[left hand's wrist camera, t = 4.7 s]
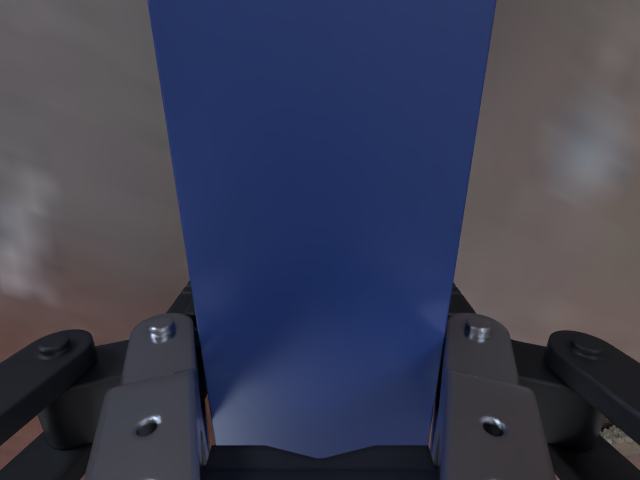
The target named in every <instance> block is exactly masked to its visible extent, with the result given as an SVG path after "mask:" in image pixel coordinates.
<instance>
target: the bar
mask: <svg viewBox="0 0 640 480" xmlns="http://www.w3.org/2000/svg"><path fill="white" fill-rule="evenodd" d="M148 6H149V13H150V19H151V26H152V32H153V39H154V46H155V52H156V59H157V65H158V72H159V78H160V85H161V91H162V98H163V105H164V111H165V118H166V124H167V131H168V137H169V144H170V150H171V157H172V164H173V170H174V177H175V183H176V190H177V196H178V203H179V209H180V216H181V223H182V229H183V236H184V242H185V249H186V255H187V262H188V268H189V275H190V281H191V288H192V295H193V301H194V308H195V314H196V321H197V327H198V334H199V340H200V347H201V354H202V360H203V367H204V373H205V380H206V386H207V393H208V399H209V406H210V413H211V419H212V426H213V432H214V439H215V445H266V446H270V447H274V448H278V449H282V450H286V451H290V452H294V453H298V454H302V455H306V456H310V457H314V458H326V457H330V456H334V455H338V454H342V453H346V452H350V451H354V450H358V449H362V448H366V447H370V446H374V445H428V442H429V436H430V429H431V423H432V416H433V410H434V403H435V397H436V390H437V384H438V377H439V371H440V364H441V358H442V351H443V345H444V338H445V332H446V325H447V319H448V312H449V306H450V299H451V293H452V286H453V280H454V273H455V266H456V260H457V253H458V247H459V240H460V234H461V227H462V221H463V214H464V208H465V201H466V195H467V188H468V182H469V175H470V169H471V162H472V156H473V149H474V143H475V136H476V130H477V123H478V117H479V110H480V104H481V97H482V91H483V84H484V78H485V71H486V65H487V58H488V52H489V45H490V39H491V32H492V26H493V19H494V13H495V6H496V0H148Z"/></svg>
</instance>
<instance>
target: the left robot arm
mask: <svg viewBox="0 0 640 480" xmlns="http://www.w3.org/2000/svg"><path fill="white" fill-rule="evenodd" d="M206 395H207V386H206V380H205V373H204V367H203V360H202V354H201V347H200V340H199V334H198V327H197V321H196V314H195V308H194V301H193V295H192V288H191V281H189V282H188V284H187V287H185V288H184V289H183V291H182V292H181V294H180V295H179V296H178V298H177V299H176V300H175V302H174V303H173V305H172V306H171V307H170V309H169V310H168V311H167V313H165V314H160V315H156V316H153V317H151V318H148V319H146V320H144V321H143V322H141V323H139V324H138V325H137V326H136V327H135V328H134V329H133V330H132V332H131V334H130V339H129V340H126V341H121V342H116V343H111V344H106V345H100V346H95V345H94V341H93V337H92V335H91V334H90V333H89V332H87V331H84V330H65V331H60V332H56V333H53V334H50V335H47V336H45V337H42V338H40V339H38V340H36V341H35V342H33V343H31V344H30V345H28V346H26V347H25V348H23V349H22V350H20V351H19V352H17V353H16V354H14V355H12V356H11V357H9V358H8V359H6V360H5V361H3V362H1V363H0V446H1V445H2V444H3V443H4V442H5V441H7V440H8V439H9V438H10V437H11V436H13V435H14V434H15V433H16V432H17V431H18V430H20V429H21V428H22V427H23V426H24V425H26V424H27V423H28V422H29V421H30V420H32V419H33V418H34V417H35V416H36V415H38V418H39V420H40V423H41V425H42V428H43V431H44V432H42V433H41V434H40V435H39V436H38V437H37V438H36V439H35V440H34V441H32V442H31V443H30V444H29V445H28V446H27V447H26V448H25V449H24V450H23V451H21V452H20V453H19V454H18V455H17V456H16V457H15V458H14V459H13V460H11V461H10V462H9V463H8V464H7V465H6V466H5V467H4V468H3V469H1V470H0V480H80V479H81V478H82V477H83V475H84V474H85V477H84V480H556V477H555V474H556V475H557V477H558V478H559V479H560V480H640V470H639V469H637V468H636V467H635V466H634V465H633V464H632V463H631V462H630V461H629V460H627V459H626V458H625V457H624V456H623V455H622V454H621V453H620V452H619V451H618V450H616V449H615V448H614V447H613V446H612V445H611V444H610V443H609V442H608V441H606V440H605V439H604V438H603V437H602V436H601V435H600V434H599V433H600V431H601V428H602V425H603V423H604V420H605V418H607V419H608V420H610V421H611V422H612V423H613V424H614V425H616V426H617V427H618V428H619V429H620V430H622V431H623V432H624V433H625V434H626V435H627V436H629V437H630V438H631V439H632V440H633V441H635V442H636V443H637V444H638V445H639V446H640V363H639V362H637V361H635V360H634V359H632V358H631V357H629V356H628V355H626V354H624V353H623V352H621V351H620V350H618V349H617V348H615V347H614V346H612V345H610V344H609V343H607V342H605V341H603V340H601V339H599V338H597V337H594V336H591V335H588V334H585V333H581V332H576V331H566V330H563V331H557V332H554V333H552V334H551V335H550V337H549V340H548V343H547V347H545V346H540V345H534V344H529V343H524V342H519V341H515V340H512V339H510V334H509V332H508V330H507V329H506V328H505V327H504V326H503V325H502V324H501V323H499V322H497V321H496V320H494V319H492V318H489V317H487V316H484V315H480V314H476V313H475V311H474V310H473V308H472V307H471V306H470V304H469V303H468V302H467V300H466V299H465V298H464V296H463V295H462V294H461V292H460V291H459V289H458V288H457V287H456V285H455V284H454V282H453V286H452V293H451V299H450V306H449V312H448V319H447V325H446V332H445V338H444V345H443V351H442V358H441V364H440V371H439V377H438V384H437V390H436V397H435V403H434V411H433V422H432V433H431V444H430V450H429V447H428V445H374V446H370V447H366V448H362V449H358V450H354V451H350V452H346V453H342V454H338V455H334V456H330V457H326V458H314V457H310V456H306V455H302V454H298V453H294V452H290V451H286V450H282V449H278V448H274V447H270V446H266V445H212V447H211V450H210V444H209V433H208V422H207V411H206V404H205V398H206Z"/></svg>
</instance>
